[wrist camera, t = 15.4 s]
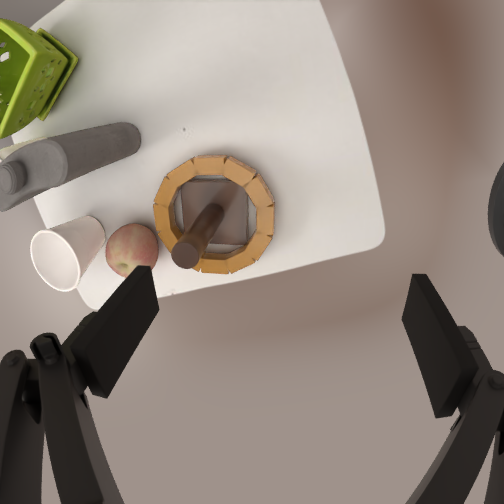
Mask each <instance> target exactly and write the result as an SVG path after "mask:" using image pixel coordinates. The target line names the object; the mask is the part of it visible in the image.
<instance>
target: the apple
mask: <svg viewBox="0 0 504 504" xmlns="http://www.w3.org/2000/svg"><path fill="white" fill-rule="evenodd" d="M157 259H158V243H157V239H156V237H155V235H154V234H153V232H152V231H151V230H149V229H148V228H146V227H144V226H142V225H139V224H135V223H133V224H128V225H125V226H122V227H121V228H119V229H118V230H117V231H115V232H114V233H113V234H112V235H111V237H110V238H109V240H108V242H107V245H106V260H107V263H108V265H109V266H110V267H111V268H112V269H113V270H114V271H115V272H116V273H117V274H119V275H121V276H123V277H125V278H127V277H128V275H129V274H130V273H131V272H132V271H133V270H134V269H135V268H136V266H137V265H145V266H151V270H152V269H153V268H154V266H155V264H156V261H157Z"/></svg>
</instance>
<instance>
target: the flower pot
mask: <svg viewBox="0 0 504 504" xmlns="http://www.w3.org/2000/svg"><path fill="white" fill-rule="evenodd" d="M2 42H5V45H4V47H0V56H1V55H2V54H3V53H5V52H9V59H7V60H5V61H3V62H0V94H2V95H0V101H1V103H0V139H2V138H5V137H7V136H9V135H12V134H14V133H16V132H17V131H19V130H21V129H22V128H24V127H25V126H27V125H28V124H29V123H30V122H32V121H33V120H34V119H35V118H36V117H38V118H39V119H40V120H42V121H44V120H45V118H46V117H47V115H48V113H49V111H50V110H51V108H52V106H53V104H54V102H55V100H56V98H57V97H58V95H59V93H60V91H61V90H62V88H63V86H64V84H65V83H66V81H67V79H68V77H69V76H70V74H71V72H72V70H73V69H74V67H75V65H76V64H77V62H78V58H77V56H75V55H74V54H73V53H72V52H71V51H70V50H69V49H67V48H66V47H65V46H64V45H63V44H61V43H60V42H59V41H58V40H56V39H55V38H54V37H53V36H51V35H50V34H49V33H47V32H46V31H45V30H43V29H41V28H40V29H38V30H37V32H34V31H32V30H31V29H29V28H27V27H26V26H24V25H22V24H20V23H17V22H14V21H11V20H7V19H1V18H0V44H1V43H2ZM7 104H9V105H7ZM20 119H21V120H20Z"/></svg>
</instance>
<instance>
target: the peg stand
mask: <svg viewBox="0 0 504 504" xmlns="http://www.w3.org/2000/svg"><path fill="white" fill-rule="evenodd" d="M181 199H182V211H183V223H184V234H183V235H182V236H181V238H180V239H179V240H178V241H177V243H176V244H175V245H174V247H173V248H172V251H171V256H172V259H173V261H174V262H175V264H176V265H178V266H179V267H181V268H184V269H190V268H193V267H195V266H196V265H197V263H198V262H199V260H200V258H201V256H202V255H203V253H204V251H205V250H206V248H207V246H208V244H231V245H246V244H247V242H248V194H247V192H246V191H245V189H244V187H242V186H240V185H238V184H237V183H235V182H233V181H231V180H220V179H192V180H188V181H187V182H185V183H184V184H182V186H181Z"/></svg>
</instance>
